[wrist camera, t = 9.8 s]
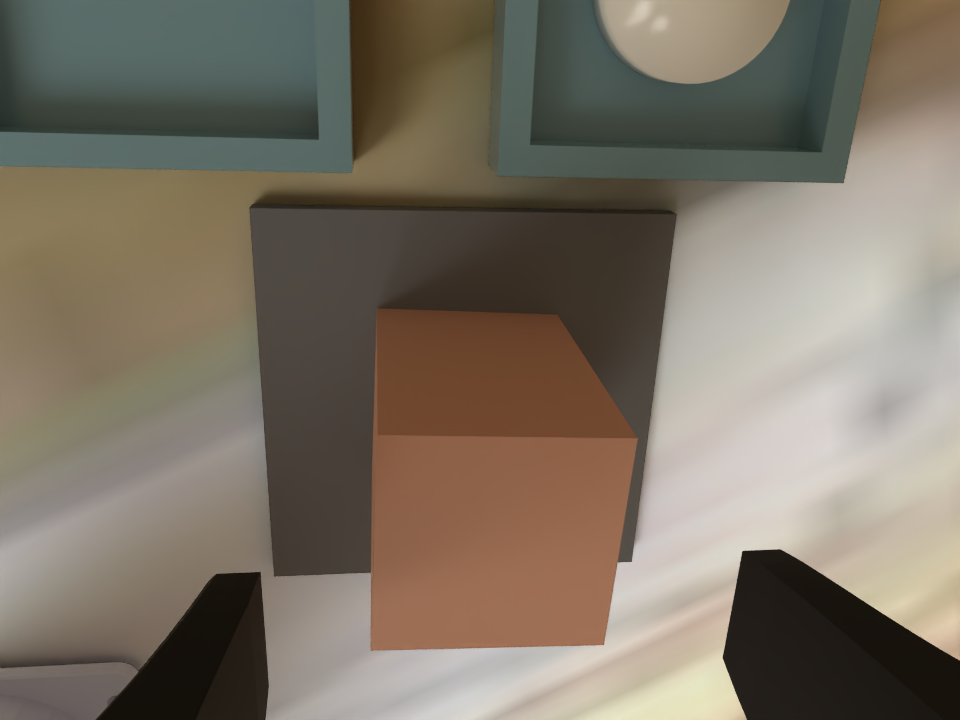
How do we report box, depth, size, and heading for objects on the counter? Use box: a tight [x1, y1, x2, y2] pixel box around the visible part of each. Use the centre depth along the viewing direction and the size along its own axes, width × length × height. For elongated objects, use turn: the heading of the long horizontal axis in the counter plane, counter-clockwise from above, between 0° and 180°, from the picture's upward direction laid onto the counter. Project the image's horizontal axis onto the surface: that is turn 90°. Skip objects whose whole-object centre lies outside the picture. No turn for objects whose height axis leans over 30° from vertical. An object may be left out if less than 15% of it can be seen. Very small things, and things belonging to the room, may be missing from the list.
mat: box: [250, 204, 676, 576], centre depth 19 cm, size 9×9×1 cm
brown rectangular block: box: [371, 308, 638, 651], centre depth 16 cm, size 4×4×6 cm
